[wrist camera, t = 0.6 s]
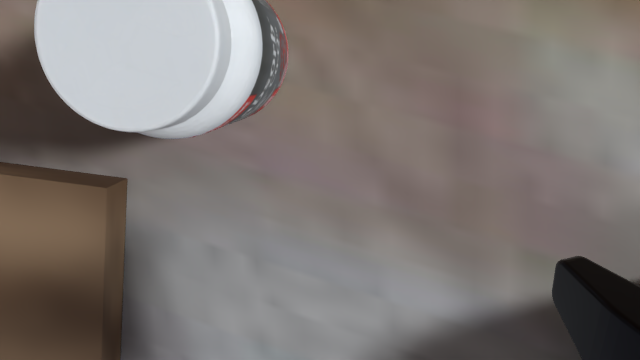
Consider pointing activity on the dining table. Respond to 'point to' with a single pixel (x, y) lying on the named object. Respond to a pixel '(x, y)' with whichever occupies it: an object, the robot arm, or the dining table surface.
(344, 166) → the dining table surface
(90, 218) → the wooden board
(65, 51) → the pill bottle
